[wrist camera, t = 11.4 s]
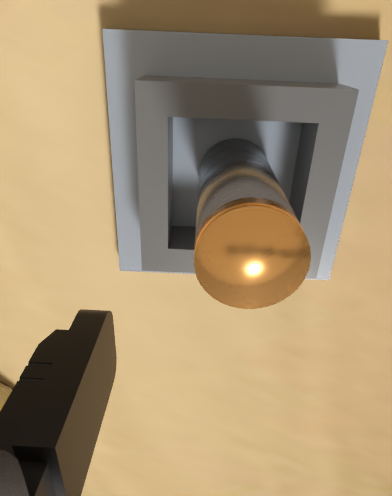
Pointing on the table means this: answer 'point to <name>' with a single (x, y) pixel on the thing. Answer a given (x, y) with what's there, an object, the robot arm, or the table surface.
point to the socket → (232, 130)
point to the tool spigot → (246, 229)
